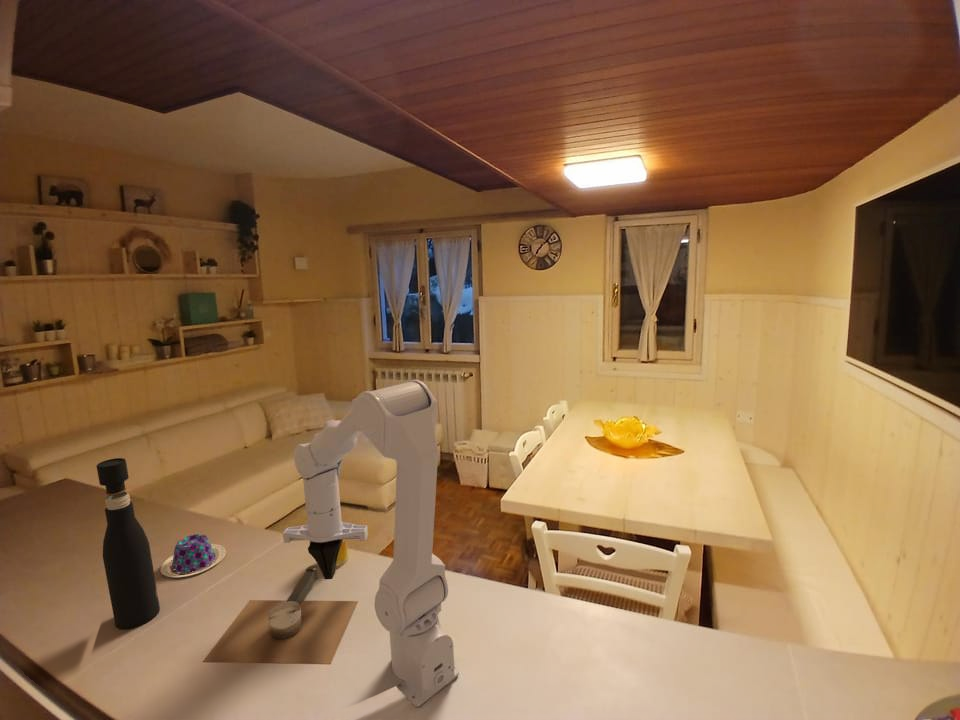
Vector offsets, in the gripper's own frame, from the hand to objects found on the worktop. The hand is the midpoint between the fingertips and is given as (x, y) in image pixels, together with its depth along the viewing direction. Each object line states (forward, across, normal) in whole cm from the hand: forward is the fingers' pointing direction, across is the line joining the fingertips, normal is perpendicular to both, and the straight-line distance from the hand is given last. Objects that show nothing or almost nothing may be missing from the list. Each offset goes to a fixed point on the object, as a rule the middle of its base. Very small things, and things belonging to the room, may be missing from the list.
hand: (329, 575), depth 87 cm
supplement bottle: (+6, +3, -11) cm, 13 cm away
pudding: (+6, +34, -14) cm, 37 cm away
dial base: (+6, +5, +8) cm, 11 cm away
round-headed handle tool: (+4, +5, +3) cm, 7 cm away
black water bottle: (+6, +33, +4) cm, 34 cm away
